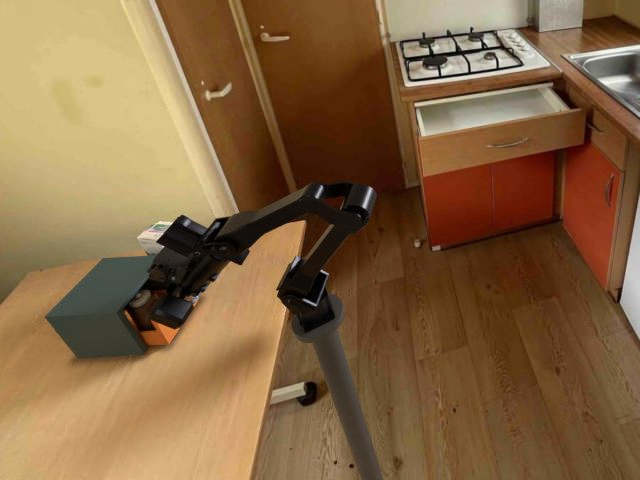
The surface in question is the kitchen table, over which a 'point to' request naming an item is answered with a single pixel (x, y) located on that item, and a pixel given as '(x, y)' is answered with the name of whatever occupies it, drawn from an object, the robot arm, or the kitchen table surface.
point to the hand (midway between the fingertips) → (174, 300)
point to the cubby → (104, 308)
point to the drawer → (161, 333)
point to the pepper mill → (142, 309)
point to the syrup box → (153, 237)
